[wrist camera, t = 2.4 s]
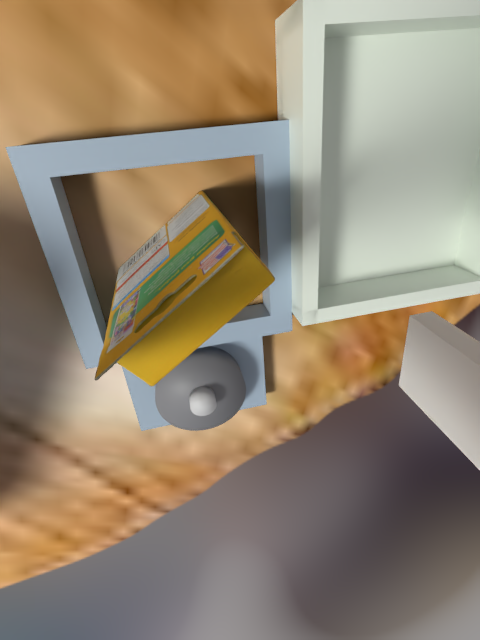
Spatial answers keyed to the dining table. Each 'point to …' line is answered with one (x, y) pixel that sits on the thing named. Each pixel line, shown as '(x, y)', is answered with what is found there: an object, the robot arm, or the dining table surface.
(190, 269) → the crayon box
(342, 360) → the dining table surface
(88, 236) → the dining table surface
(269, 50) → the dining table surface
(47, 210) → the block
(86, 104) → the dining table surface
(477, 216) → the tray
